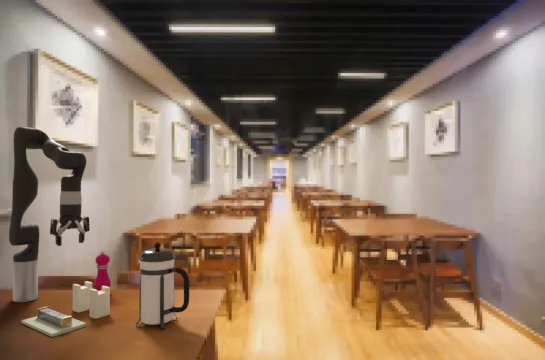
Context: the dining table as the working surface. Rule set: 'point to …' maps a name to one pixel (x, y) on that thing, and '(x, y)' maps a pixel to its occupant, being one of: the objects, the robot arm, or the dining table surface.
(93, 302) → the post
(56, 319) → the rail
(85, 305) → the post
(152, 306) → the coffee press
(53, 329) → the mat
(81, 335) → the dining table surface
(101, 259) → the pepper mill
